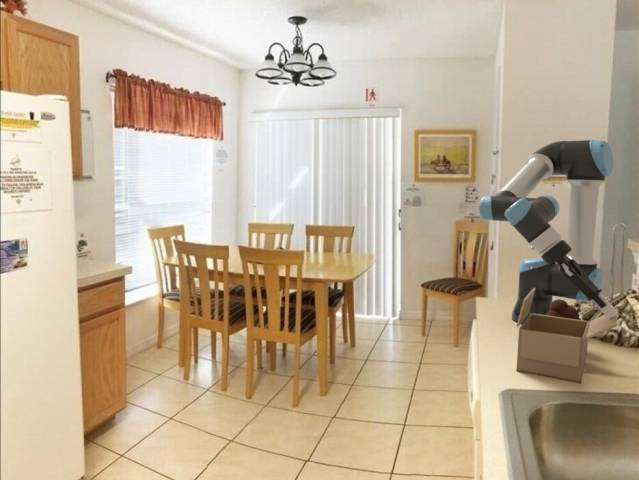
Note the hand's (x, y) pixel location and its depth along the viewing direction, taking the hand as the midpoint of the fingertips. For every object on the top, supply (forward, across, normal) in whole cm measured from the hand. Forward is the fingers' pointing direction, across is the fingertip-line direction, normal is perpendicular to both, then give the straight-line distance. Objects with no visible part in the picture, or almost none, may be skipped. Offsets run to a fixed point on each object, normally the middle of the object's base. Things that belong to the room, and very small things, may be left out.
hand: (613, 315), depth 142 cm
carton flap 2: (0, 0, -3) cm, 3 cm away
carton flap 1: (-14, 0, -16) cm, 22 cm away
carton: (+2, 0, -22) cm, 22 cm away
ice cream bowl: (+2, -20, -22) cm, 29 cm away
